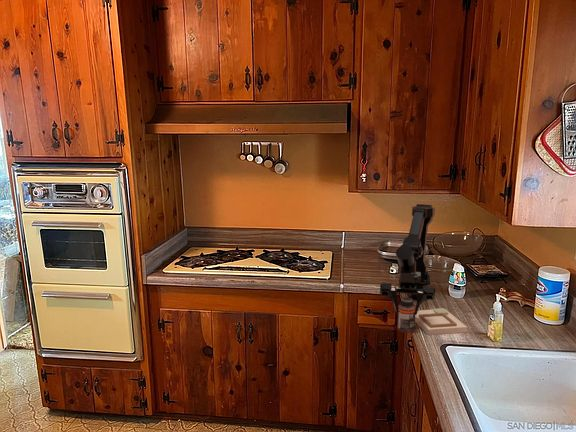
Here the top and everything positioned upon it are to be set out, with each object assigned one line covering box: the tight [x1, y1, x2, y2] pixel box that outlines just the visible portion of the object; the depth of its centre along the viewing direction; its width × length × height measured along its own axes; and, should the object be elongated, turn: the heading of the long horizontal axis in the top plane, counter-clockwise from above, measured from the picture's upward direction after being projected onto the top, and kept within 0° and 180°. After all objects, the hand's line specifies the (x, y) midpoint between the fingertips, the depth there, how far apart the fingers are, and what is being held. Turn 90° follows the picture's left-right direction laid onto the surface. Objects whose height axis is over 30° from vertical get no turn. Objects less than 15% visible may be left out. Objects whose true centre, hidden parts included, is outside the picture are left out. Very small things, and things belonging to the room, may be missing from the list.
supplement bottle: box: [396, 297, 416, 334], centre depth 150 cm, size 6×6×11 cm
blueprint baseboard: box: [415, 307, 468, 336], centre depth 155 cm, size 16×14×3 cm
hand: (406, 313), depth 149 cm, fingers closed on supplement bottle, 6 cm apart
